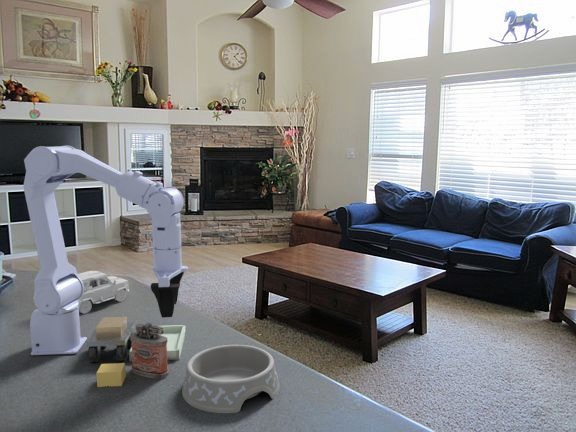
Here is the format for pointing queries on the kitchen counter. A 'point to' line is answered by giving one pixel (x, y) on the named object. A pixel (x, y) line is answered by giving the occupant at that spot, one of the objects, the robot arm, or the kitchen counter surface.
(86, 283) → the toy car
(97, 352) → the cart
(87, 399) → the kitchen counter surface
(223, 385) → the dog bowl
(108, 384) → the block
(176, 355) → the tray
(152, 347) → the lighter
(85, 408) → the kitchen counter surface
